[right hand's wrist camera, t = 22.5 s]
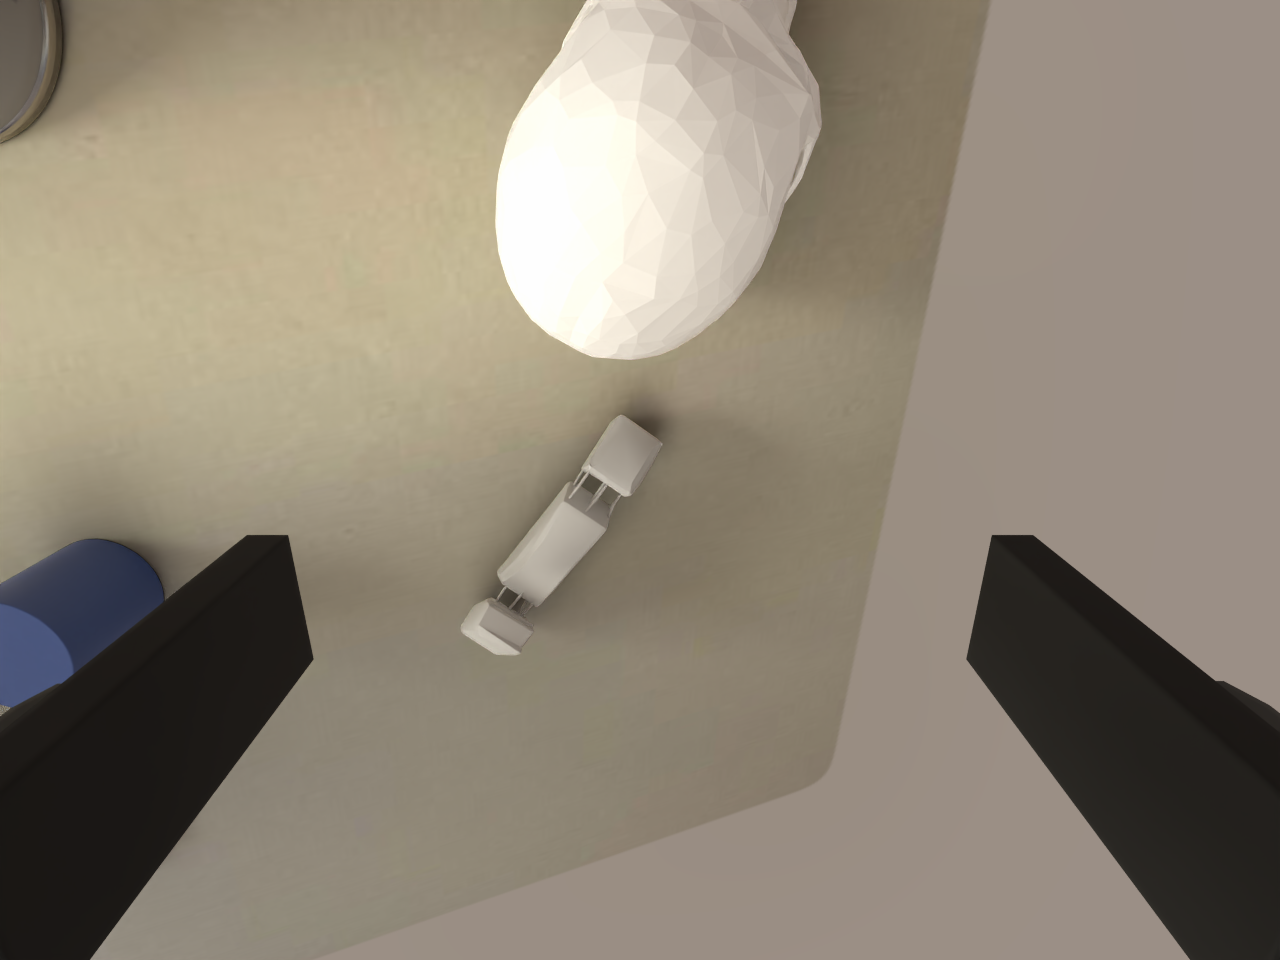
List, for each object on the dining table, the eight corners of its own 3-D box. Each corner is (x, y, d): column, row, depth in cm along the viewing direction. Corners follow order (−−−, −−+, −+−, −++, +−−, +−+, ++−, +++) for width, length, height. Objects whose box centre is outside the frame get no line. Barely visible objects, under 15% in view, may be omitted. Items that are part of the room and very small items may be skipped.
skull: (864, 8, 37) (1001, -142, 22) (686, 369, 44) (698, 439, 29) (644, -117, 35) (630, -368, 20) (496, 279, 43) (406, 305, 28)
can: (120, 650, 52) (24, 729, 44) (30, 578, 50) (-88, 647, 42) (186, 595, 50) (100, 667, 42) (97, 518, 48) (-13, 578, 40)
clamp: (503, 644, 51) (490, 697, 45) (460, 619, 50) (441, 670, 44) (661, 434, 47) (672, 459, 41) (618, 403, 46) (622, 423, 40)
